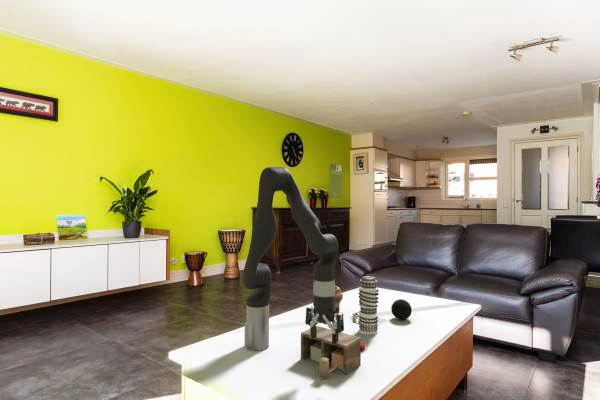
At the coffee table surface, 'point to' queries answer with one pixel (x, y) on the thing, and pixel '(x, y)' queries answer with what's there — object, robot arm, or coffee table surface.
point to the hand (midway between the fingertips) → (324, 340)
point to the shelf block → (316, 351)
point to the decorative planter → (337, 298)
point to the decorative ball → (401, 309)
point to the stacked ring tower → (368, 305)
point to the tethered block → (336, 363)
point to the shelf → (333, 347)
